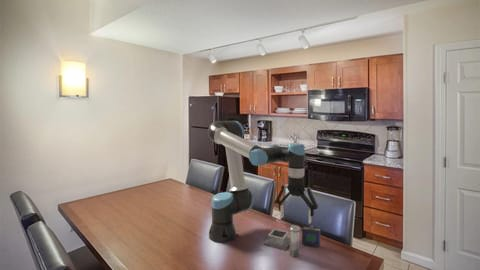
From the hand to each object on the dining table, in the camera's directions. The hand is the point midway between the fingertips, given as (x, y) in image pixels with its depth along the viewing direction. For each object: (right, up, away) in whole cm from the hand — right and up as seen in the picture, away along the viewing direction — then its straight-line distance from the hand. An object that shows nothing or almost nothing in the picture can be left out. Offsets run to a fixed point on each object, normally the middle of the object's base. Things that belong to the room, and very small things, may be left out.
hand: (295, 219), depth 126 cm
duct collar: (-6, -16, +14) cm, 22 cm away
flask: (+10, -17, +11) cm, 23 cm away
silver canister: (0, -18, +2) cm, 18 cm away
